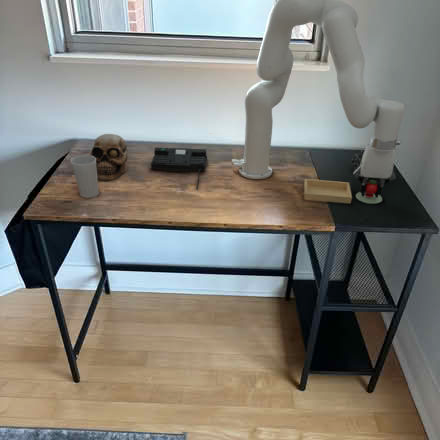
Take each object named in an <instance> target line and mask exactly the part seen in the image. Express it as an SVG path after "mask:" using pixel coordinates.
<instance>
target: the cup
mask: <svg viewBox="0 0 440 440" xmlns="http://www.w3.org/2000/svg"><path fill="white" fill-rule="evenodd" d="M70 163H71V167H72V170H73V173H74V177H75V181H76V184H77V186H78V188H77V189H78V191H79V196H80V197H82V198H84V199H85V198H87V199H89V198H90V199H91V198H94V197H97V196H98V195H99V193H100V191H99V182H98V180H99V179H98V178H97V167H96V158H95V157H94V156H91V154H81V155H76V156H73V157H72V158H71V159H70Z"/></svg>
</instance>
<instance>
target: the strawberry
mask: <svg viewBox="0 0 440 440" xmlns="http://www.w3.org/2000/svg"><path fill="white" fill-rule="evenodd" d="M377 184H378V181H377V180H375V179H368V181H367V182H366V191H365V192H366V193H365V196H367V197H373V196H374V194H375V193H376V192H377V189H378V186H377Z"/></svg>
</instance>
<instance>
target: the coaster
mask: <svg viewBox="0 0 440 440" xmlns="http://www.w3.org/2000/svg"><path fill="white" fill-rule="evenodd" d="M365 193H366V192H365ZM355 198H356V199H357V200H358V201H360V202H363V203H365V204H379V203H381V202H382V201H383V197H382V196H381V194H379V195H378V198H376V197H375V194H374V196H373V197H367V196H365V195H364V196H362V195H361V193H360V191H358V192H357V193H356V194H355Z"/></svg>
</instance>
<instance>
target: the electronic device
mask: <svg viewBox="0 0 440 440" xmlns="http://www.w3.org/2000/svg"><path fill="white" fill-rule="evenodd" d="M207 164H208V154H207V149H206V148H202V149H201V148H184V147H183V148H182V147H181V148H180V147H154V155H153V158H152V160H151V163H150V168H151V170H162V171H166V172H187V173H190V172H193V171H194V172H198V174H197V175H198V176H197V177H198V178H197V184H196V190H198V187H199V182H200V174H201V172H205V171H206V170H207Z"/></svg>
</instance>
